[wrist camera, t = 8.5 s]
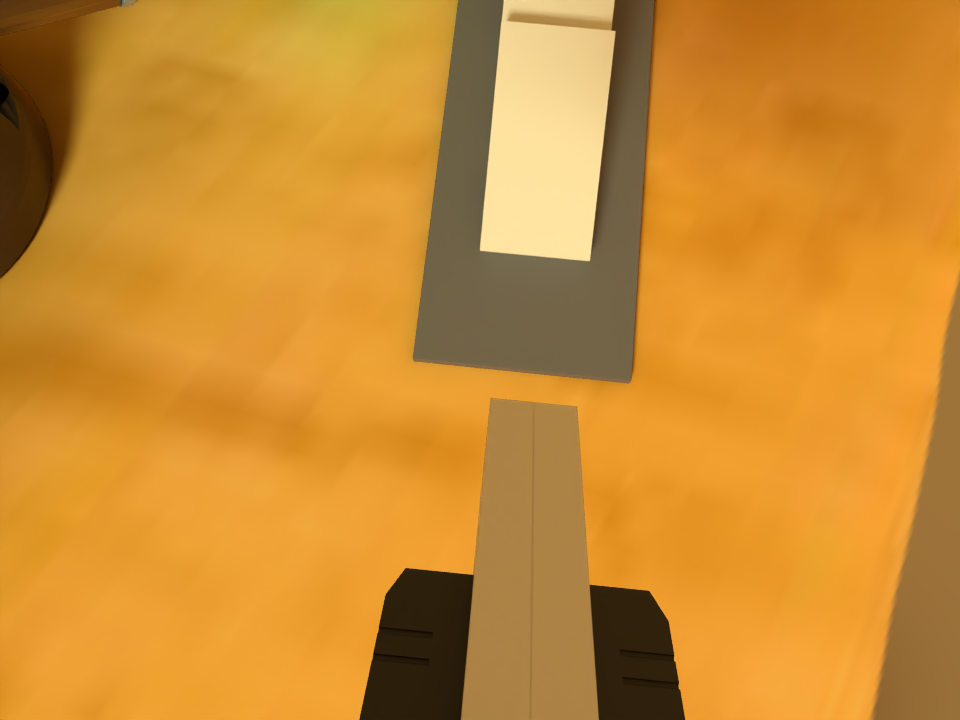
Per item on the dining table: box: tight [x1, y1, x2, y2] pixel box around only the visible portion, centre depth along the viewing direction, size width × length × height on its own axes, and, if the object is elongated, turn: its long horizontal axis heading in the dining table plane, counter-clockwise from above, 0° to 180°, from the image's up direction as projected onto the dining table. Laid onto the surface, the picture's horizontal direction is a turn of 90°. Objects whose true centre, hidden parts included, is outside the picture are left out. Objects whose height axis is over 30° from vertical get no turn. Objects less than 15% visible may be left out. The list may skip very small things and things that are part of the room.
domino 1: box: [502, 0, 615, 30], centre depth 37 cm, size 2×5×10 cm
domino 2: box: [480, 21, 616, 261], centre depth 36 cm, size 2×5×10 cm
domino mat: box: [413, 0, 655, 383], centre depth 39 cm, size 22×10×1 cm, turn 174°
